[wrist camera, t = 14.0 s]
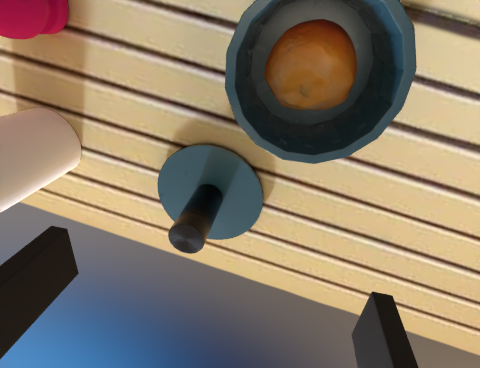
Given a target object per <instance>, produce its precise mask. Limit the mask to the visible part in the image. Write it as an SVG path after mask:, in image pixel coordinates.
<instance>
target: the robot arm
mask: <svg viewBox="0 0 480 368" xmlns="http://www.w3.org/2000/svg"><path fill="white" fill-rule="evenodd" d="M77 274H78V269H77V265H76V262H75V258H74V254H73V250H72V246H71V242H70V238H69V234H68V231H67V229H65V228H60V227H55V226H51V227H49V228H48V229H47V230H45V231H44V232H43V233H42V234H40V235H39V236H38V237H37V238H35V239H34V240H33V241H31V242H30V243H29V244H28V245H26V246H25V247H24V248H22V249H21V250H20V251H19V252H17V253H16V254H15V255H14V256H12V257H11V258H10V259H8V260H7V261H6V262H5V263H3V264H2V265H1V266H0V359H1V358H2V357H3V355H5V353H6V352H7V351H8V350H9V349H10V348H11V347H12V346H13V345H14V344H15V342H16V341H17V340H18V339H19V338H20V337H21V336H22V335H23V334H24V333H25V332H26V330H27V329H28V328H29V327H30V326H31V325H32V324H33V323H34V322H35V321H36V319H37V318H38V317H39V316H40V315H41V314H42V313H43V312H44V311H45V309H46V308H47V307H48V306H49V305H50V304H51V303H52V302H53V301H54V300H55V299H56V297H57V296H58V295H59V294H60V293H61V292H62V291H63V290H64V289H65V288H66V286H67V285H68V284H69V283H70V282H71V281H72V280H73V279H74V278H75V277H76V276H77ZM352 339H353V344H354V350H355V355H356V361H357V366H358V368H418V365H417V362H416V360H415V357H414V354H413V351H412V349H411V346H410V343H409V340H408V338H407V335H406V332H405V329H404V327H403V324H402V321H401V318H400V316H399V313H398V310H397V307H396V305H395V302H394V299H393V296H391V295H387V294H382V293H377V292H372V293H371V295H370V297H369V299H368V301H367V303H366V305H365V307H364V309H363V311H362V314H361V316H360V318H359V320H358V322H357V324H356V326H355V328H354V330H353V333H352Z"/></svg>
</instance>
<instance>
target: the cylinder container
mask: <svg viewBox="0 0 480 368" xmlns="http://www.w3.org/2000/svg"><path fill="white" fill-rule="evenodd" d="M80 159H81V145H80V141H79V139H78V136H77V134H76V133H75V131H74V129H73V128H72V127H71V125H70V124H69V123H68V122H67V121H66V120H65V119H64V118H62V117H61V116H60V115H58V114H57V113H55V112H53V111H51V110H48V109H45V108H40V107H36V108H31V109H27V110H23V111H20V112H16V113H13V114H9V115H6V116H2V117H0V212H2V211H4V210H6V209H7V208H9V207H11V206H12V205H14V204H16V203H17V202H19V201H21V200H22V199H24V198H25V197H27V196H29V195H30V194H32V193H34V192H35V191H37V190H39V189H40V188H42V187H44V186H45V185H47V184H49V183H50V182H52V181H54V180H55V179H57V178H58V177H60V176H62V175H63V174H65V173H67V172H68V171H70V170H72V169H73V168H75V167H76V166H77V165H78V163H79V161H80Z"/></svg>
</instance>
